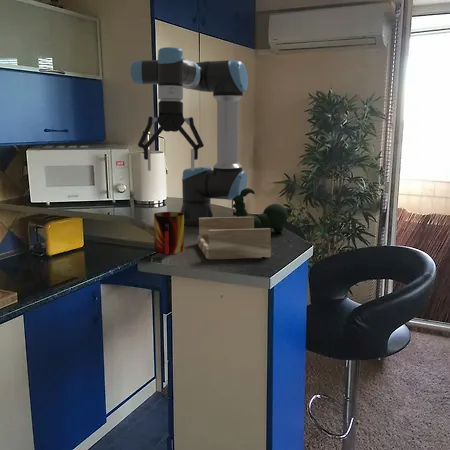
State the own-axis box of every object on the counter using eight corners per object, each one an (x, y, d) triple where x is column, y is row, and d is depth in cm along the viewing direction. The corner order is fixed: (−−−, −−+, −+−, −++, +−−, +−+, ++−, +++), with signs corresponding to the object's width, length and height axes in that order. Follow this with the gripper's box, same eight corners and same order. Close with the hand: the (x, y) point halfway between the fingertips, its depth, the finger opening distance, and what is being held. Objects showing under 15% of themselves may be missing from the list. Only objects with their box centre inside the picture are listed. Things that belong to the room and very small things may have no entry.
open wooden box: (197, 243, 182) (197, 217, 180) (254, 241, 186) (255, 216, 184) (207, 259, 160) (207, 230, 159) (271, 257, 164) (272, 228, 163)
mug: (165, 258, 162) (165, 219, 159) (150, 248, 174) (149, 212, 171) (194, 254, 166) (194, 217, 164) (177, 245, 178) (176, 211, 176)
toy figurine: (243, 243, 191) (299, 231, 202) (240, 191, 187) (298, 182, 198) (231, 238, 199) (285, 227, 210) (227, 188, 195) (283, 180, 206)
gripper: (129, 99, 155) (130, 171, 159) (212, 101, 160) (212, 171, 164) (129, 100, 162) (130, 169, 166) (208, 102, 167) (208, 169, 171)
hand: (171, 170), depth 165 cm, fingers open, 13 cm apart
